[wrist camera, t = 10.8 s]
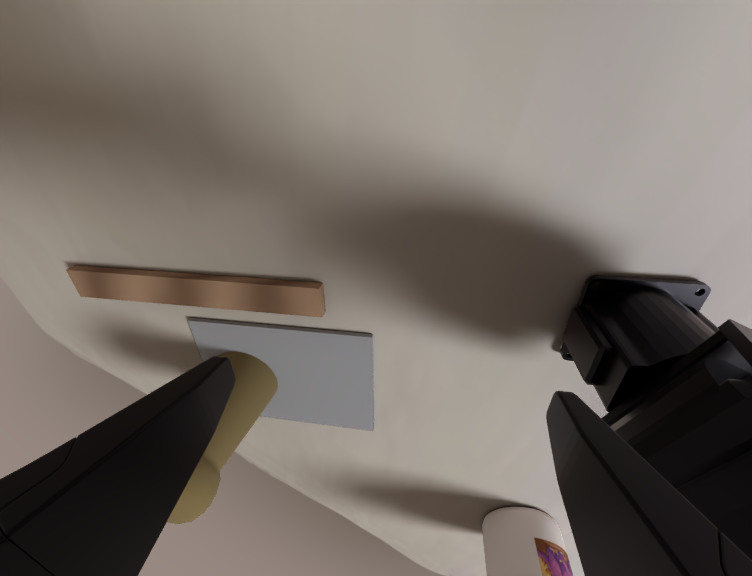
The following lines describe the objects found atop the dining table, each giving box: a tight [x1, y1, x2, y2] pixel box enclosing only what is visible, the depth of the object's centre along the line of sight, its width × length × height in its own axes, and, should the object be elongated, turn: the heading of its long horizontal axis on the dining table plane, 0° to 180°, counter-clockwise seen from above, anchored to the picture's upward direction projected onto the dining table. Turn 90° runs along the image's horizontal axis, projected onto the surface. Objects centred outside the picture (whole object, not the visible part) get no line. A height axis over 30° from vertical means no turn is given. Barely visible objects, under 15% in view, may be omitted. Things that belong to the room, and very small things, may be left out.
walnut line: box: [66, 265, 326, 317], centre depth 25 cm, size 20×2×1 cm, turn 91°
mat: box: [188, 318, 374, 431], centre depth 29 cm, size 15×11×1 cm
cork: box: [167, 351, 278, 524], centre depth 25 cm, size 6×6×11 cm
